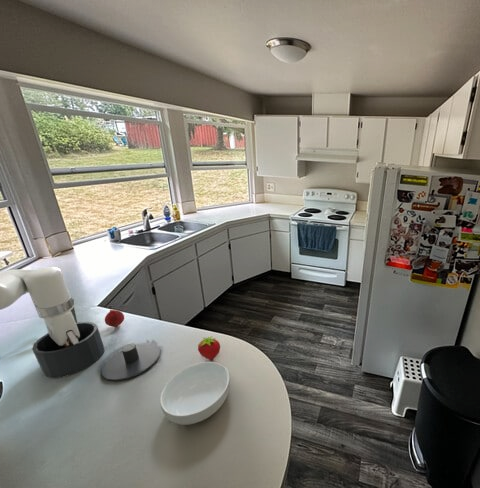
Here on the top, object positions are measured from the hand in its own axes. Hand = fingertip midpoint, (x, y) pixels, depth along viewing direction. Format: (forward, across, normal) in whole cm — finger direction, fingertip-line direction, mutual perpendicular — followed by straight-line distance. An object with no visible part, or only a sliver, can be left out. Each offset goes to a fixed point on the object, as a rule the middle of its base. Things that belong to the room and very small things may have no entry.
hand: (73, 352), depth 82 cm
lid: (+2, +17, +9) cm, 19 cm away
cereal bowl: (+3, +49, +11) cm, 50 cm away
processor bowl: (+3, 0, 0) cm, 3 cm away
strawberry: (+3, +38, +23) cm, 45 cm away
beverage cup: (+3, -21, +5) cm, 22 cm away
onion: (+3, -8, +15) cm, 17 cm away
